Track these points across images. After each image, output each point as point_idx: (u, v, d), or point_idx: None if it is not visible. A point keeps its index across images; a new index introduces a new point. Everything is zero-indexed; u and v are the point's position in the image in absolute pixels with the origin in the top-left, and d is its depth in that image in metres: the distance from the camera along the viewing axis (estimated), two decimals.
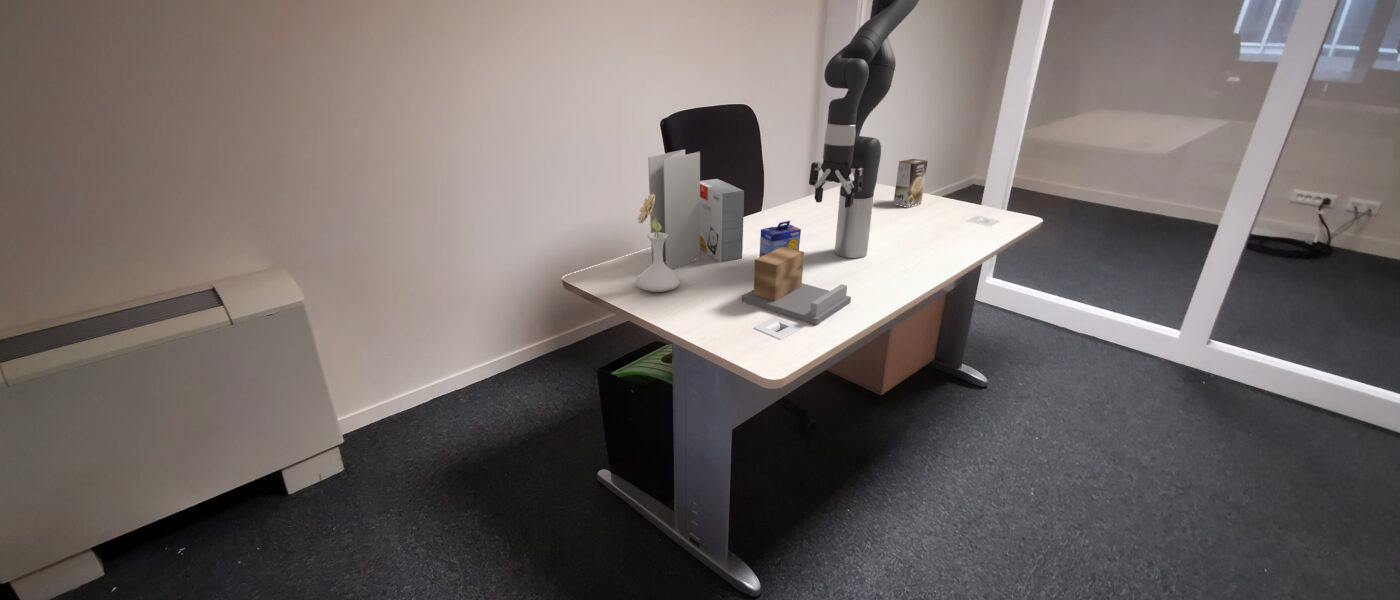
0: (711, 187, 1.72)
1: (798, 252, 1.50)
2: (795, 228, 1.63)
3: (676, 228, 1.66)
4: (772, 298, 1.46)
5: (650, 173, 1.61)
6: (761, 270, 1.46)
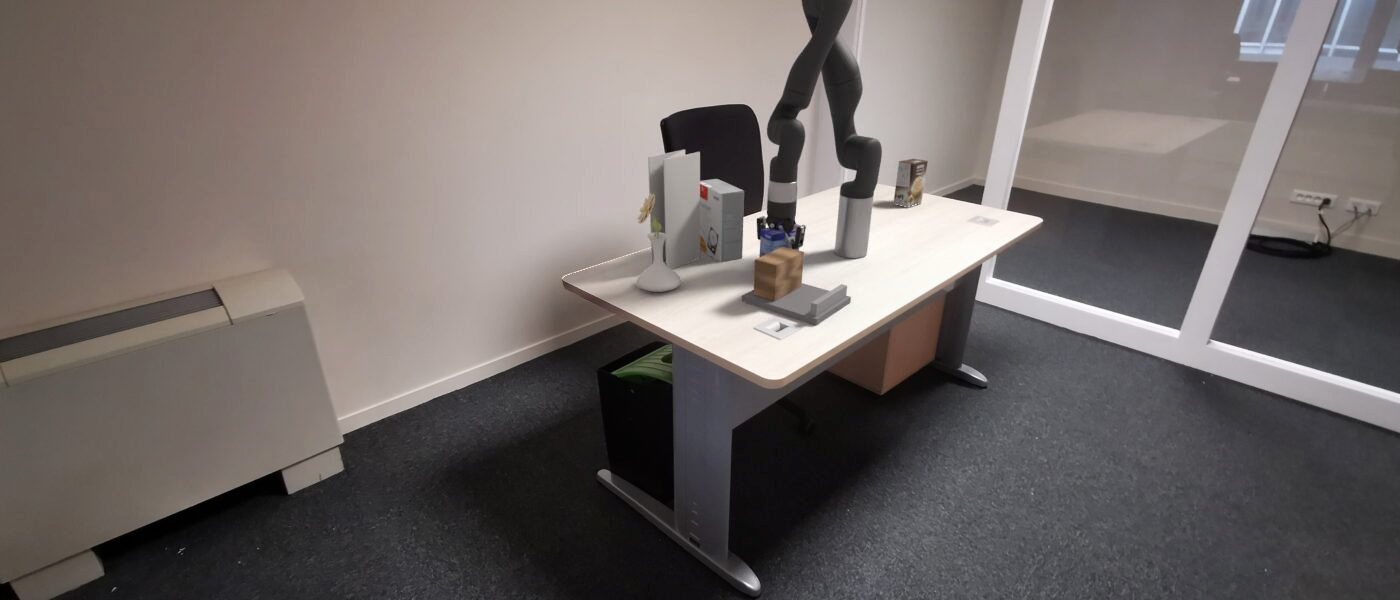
0: (711, 187, 1.72)
1: (798, 252, 1.50)
2: None
3: (676, 228, 1.66)
4: (772, 298, 1.46)
5: (650, 173, 1.61)
6: (761, 270, 1.46)
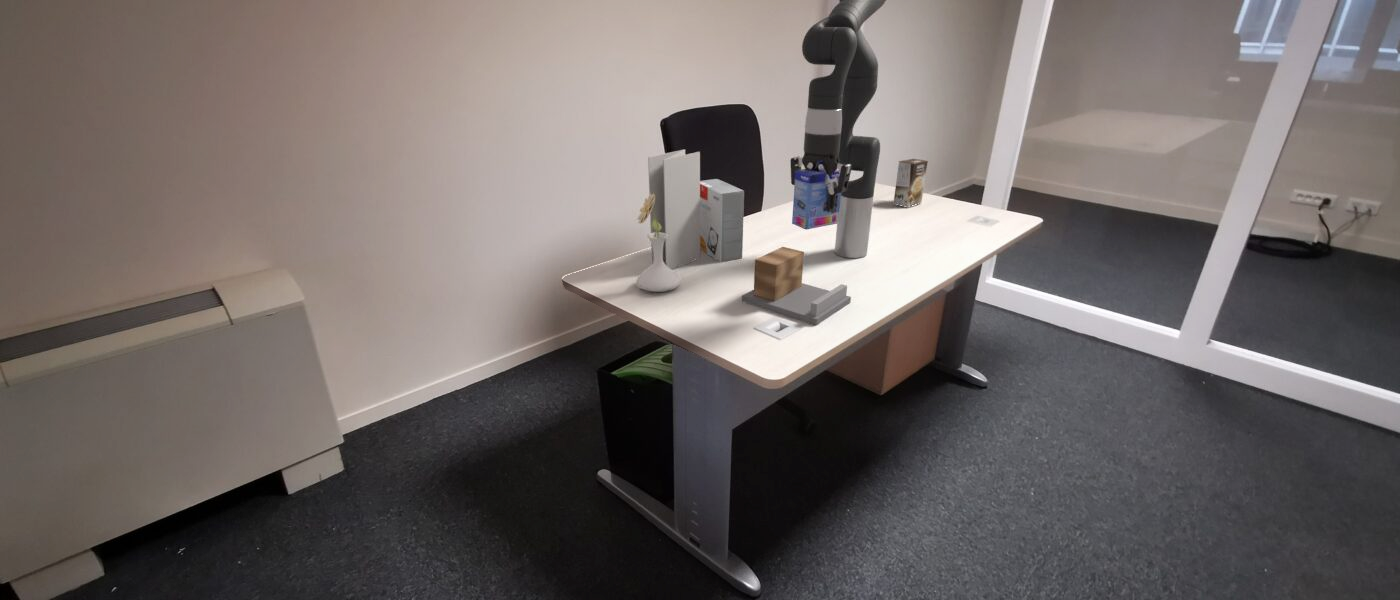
0: (711, 187, 1.72)
1: (798, 252, 1.50)
2: (837, 169, 1.35)
3: (676, 228, 1.66)
4: (772, 298, 1.46)
5: (650, 173, 1.61)
6: (761, 270, 1.46)
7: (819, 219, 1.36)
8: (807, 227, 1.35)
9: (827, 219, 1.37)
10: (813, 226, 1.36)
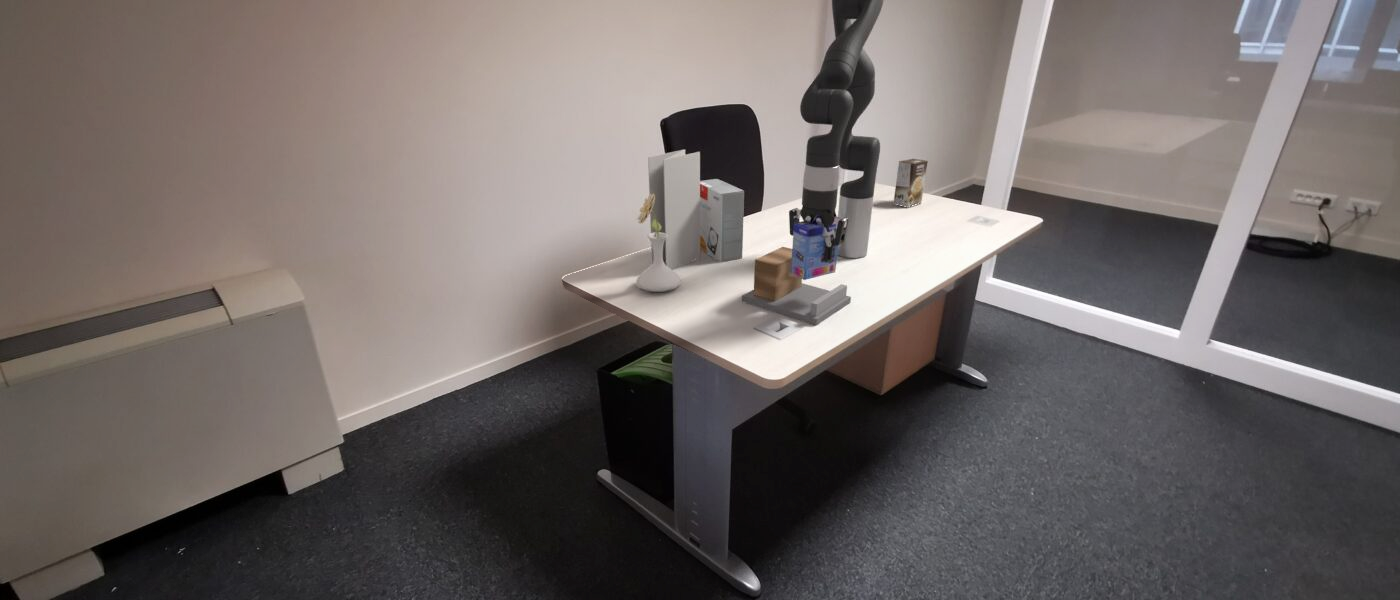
0: (711, 187, 1.72)
1: None
2: None
3: (676, 228, 1.66)
4: (772, 298, 1.46)
5: (650, 173, 1.61)
6: (761, 270, 1.46)
7: (817, 269, 1.40)
8: (805, 277, 1.39)
9: (824, 269, 1.41)
10: (811, 276, 1.40)
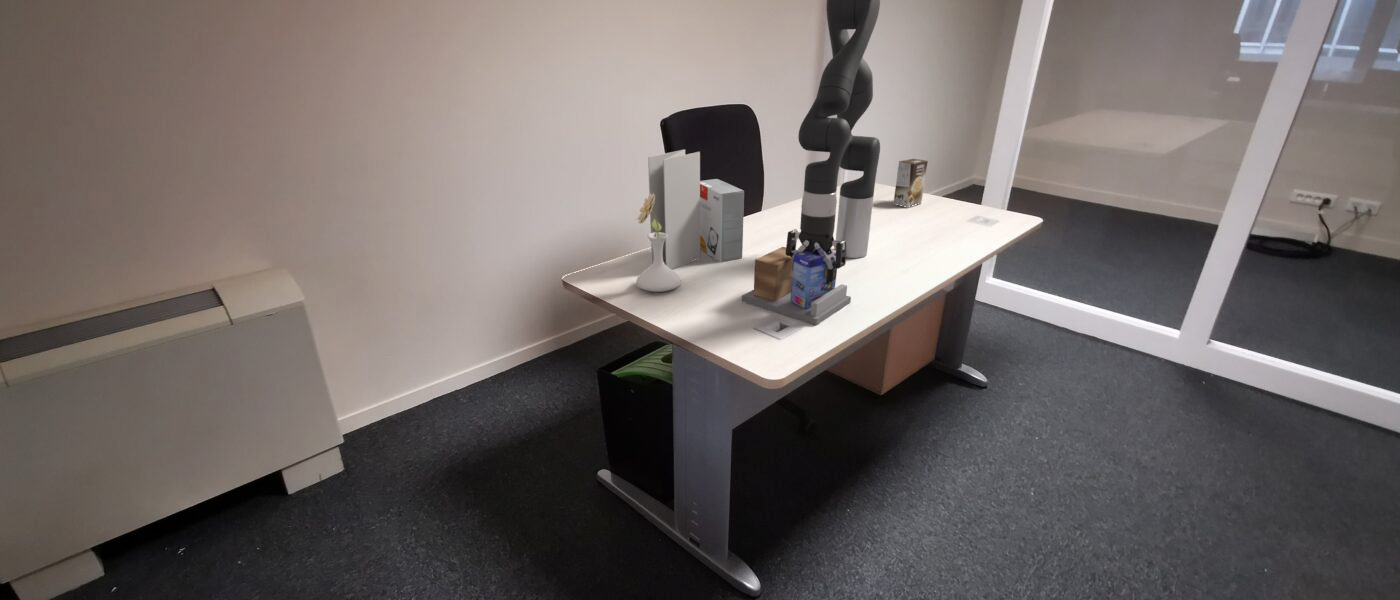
0: (711, 187, 1.72)
1: None
2: None
3: (676, 228, 1.66)
4: (772, 298, 1.46)
5: (650, 173, 1.61)
6: (761, 270, 1.46)
7: (817, 298, 1.43)
8: (806, 307, 1.42)
9: None
10: None
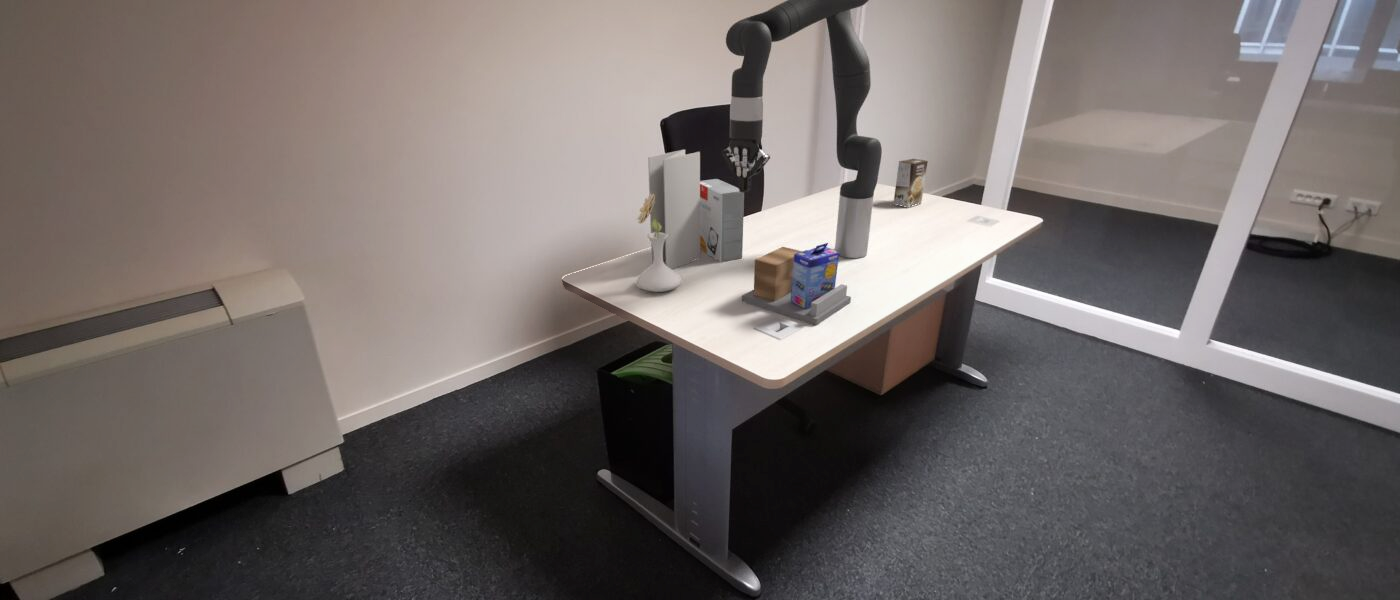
0: (711, 187, 1.72)
1: (798, 252, 1.50)
2: (832, 251, 1.42)
3: (676, 228, 1.66)
4: (772, 298, 1.46)
5: (650, 173, 1.61)
6: (761, 270, 1.46)
7: (817, 298, 1.43)
8: (806, 307, 1.42)
9: None
10: None
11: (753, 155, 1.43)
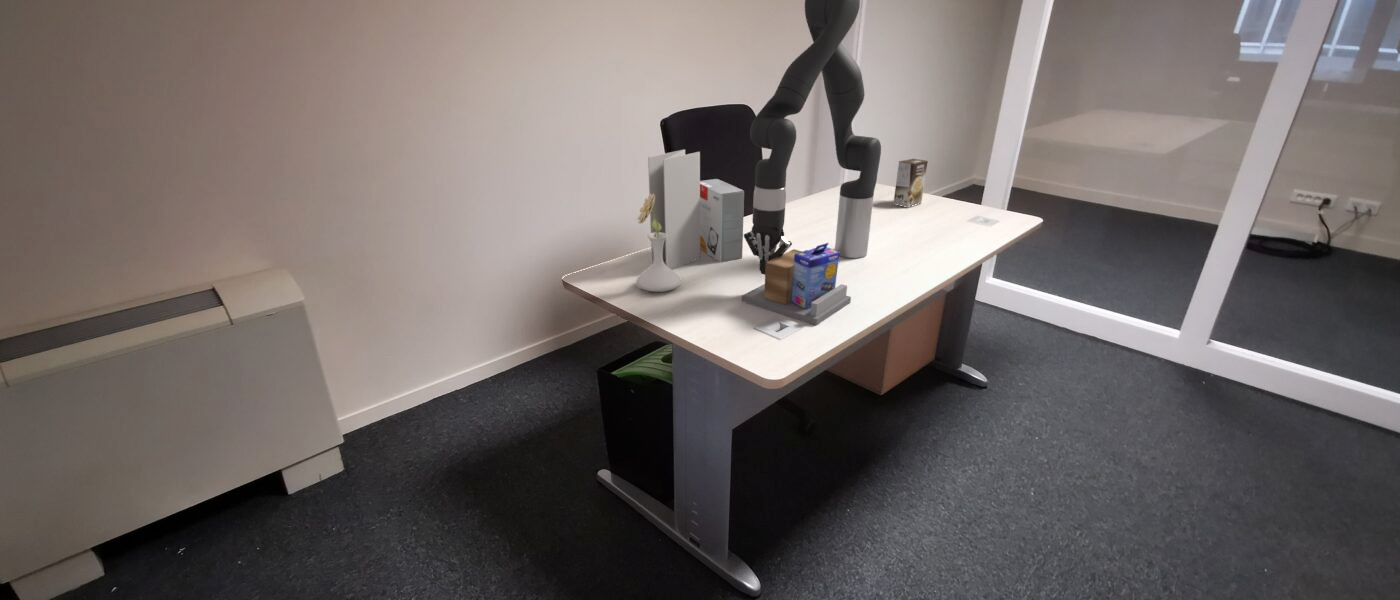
0: (711, 187, 1.72)
1: None
2: (833, 251, 1.42)
3: (676, 228, 1.66)
4: (783, 301, 1.44)
5: (650, 173, 1.61)
6: (772, 273, 1.44)
7: (817, 298, 1.43)
8: (806, 307, 1.42)
9: None
10: None
11: (775, 241, 1.47)
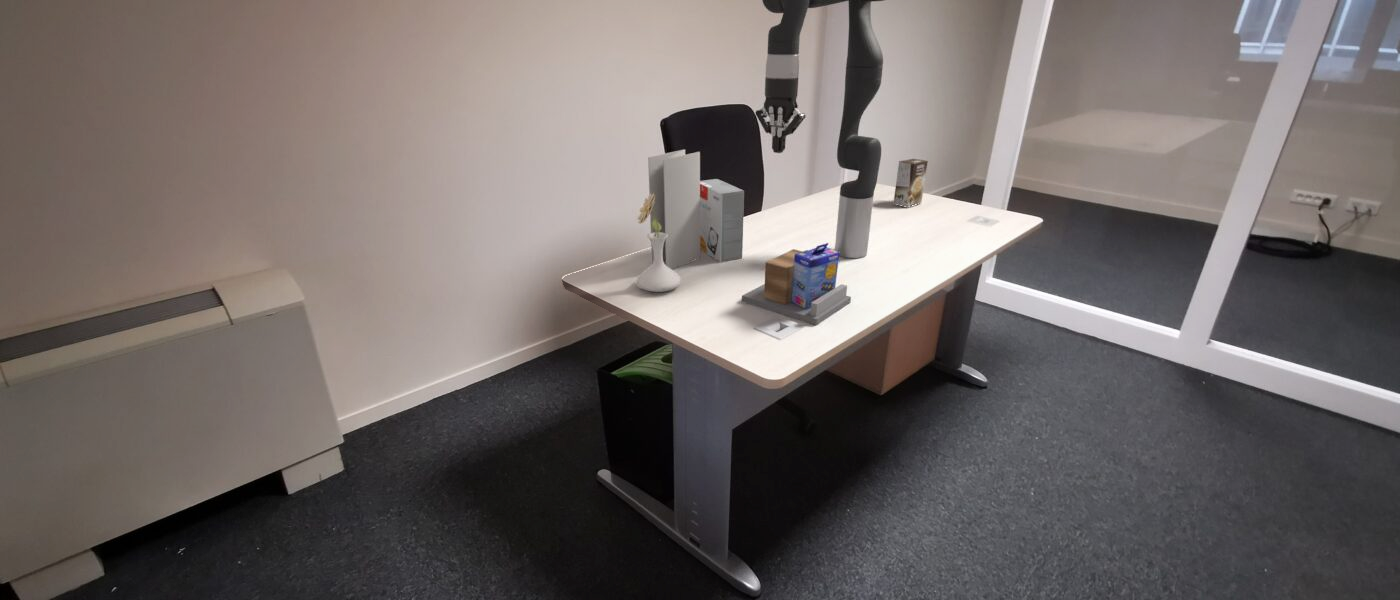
0: (711, 187, 1.72)
1: None
2: (833, 251, 1.42)
3: (676, 228, 1.66)
4: (783, 301, 1.44)
5: (650, 173, 1.61)
6: (771, 273, 1.44)
7: (817, 298, 1.43)
8: (806, 307, 1.42)
9: None
10: None
11: (788, 114, 1.43)
